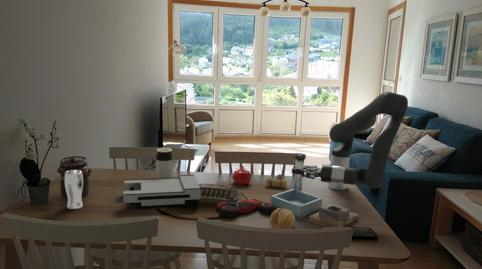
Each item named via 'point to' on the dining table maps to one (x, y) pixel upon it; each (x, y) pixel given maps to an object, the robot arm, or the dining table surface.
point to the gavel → (276, 182)
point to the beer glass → (74, 188)
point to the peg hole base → (333, 216)
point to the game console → (162, 192)
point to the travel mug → (164, 163)
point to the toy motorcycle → (244, 207)
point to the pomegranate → (241, 176)
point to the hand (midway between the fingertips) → (292, 169)
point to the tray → (297, 202)
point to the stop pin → (299, 165)
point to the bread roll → (282, 219)
